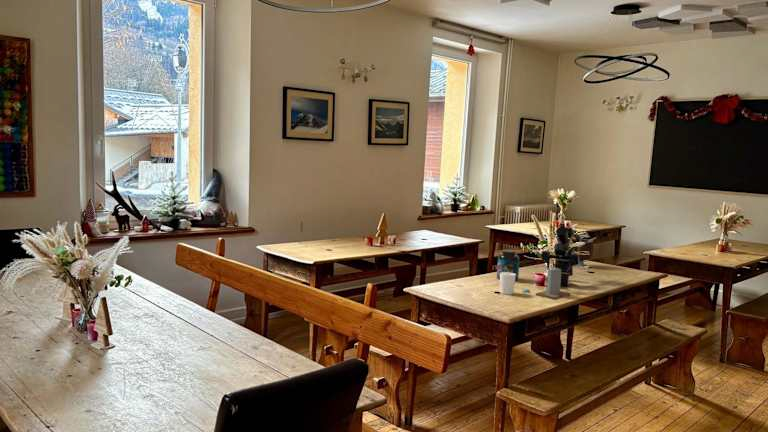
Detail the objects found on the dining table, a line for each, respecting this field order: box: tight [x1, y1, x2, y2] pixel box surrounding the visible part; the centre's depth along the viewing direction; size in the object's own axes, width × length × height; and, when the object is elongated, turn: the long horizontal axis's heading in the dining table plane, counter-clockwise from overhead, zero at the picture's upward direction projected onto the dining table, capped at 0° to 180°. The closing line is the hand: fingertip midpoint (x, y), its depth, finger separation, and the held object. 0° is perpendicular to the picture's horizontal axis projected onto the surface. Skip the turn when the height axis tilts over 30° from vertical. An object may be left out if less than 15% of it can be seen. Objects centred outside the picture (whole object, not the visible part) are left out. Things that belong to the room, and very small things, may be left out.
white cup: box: [499, 272, 516, 296], centre depth 285 cm, size 8×8×10 cm
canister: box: [545, 267, 561, 295], centre depth 284 cm, size 6×6×12 cm
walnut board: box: [535, 290, 571, 300], centre depth 285 cm, size 16×10×1 cm, turn 132°
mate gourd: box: [573, 237, 597, 268], centre depth 364 cm, size 16×14×20 cm
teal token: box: [522, 288, 530, 294], centre depth 289 cm, size 3×3×1 cm
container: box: [496, 249, 520, 282], centre depth 318 cm, size 12×12×17 cm
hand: (557, 270), depth 289 cm, fingers open, 9 cm apart
